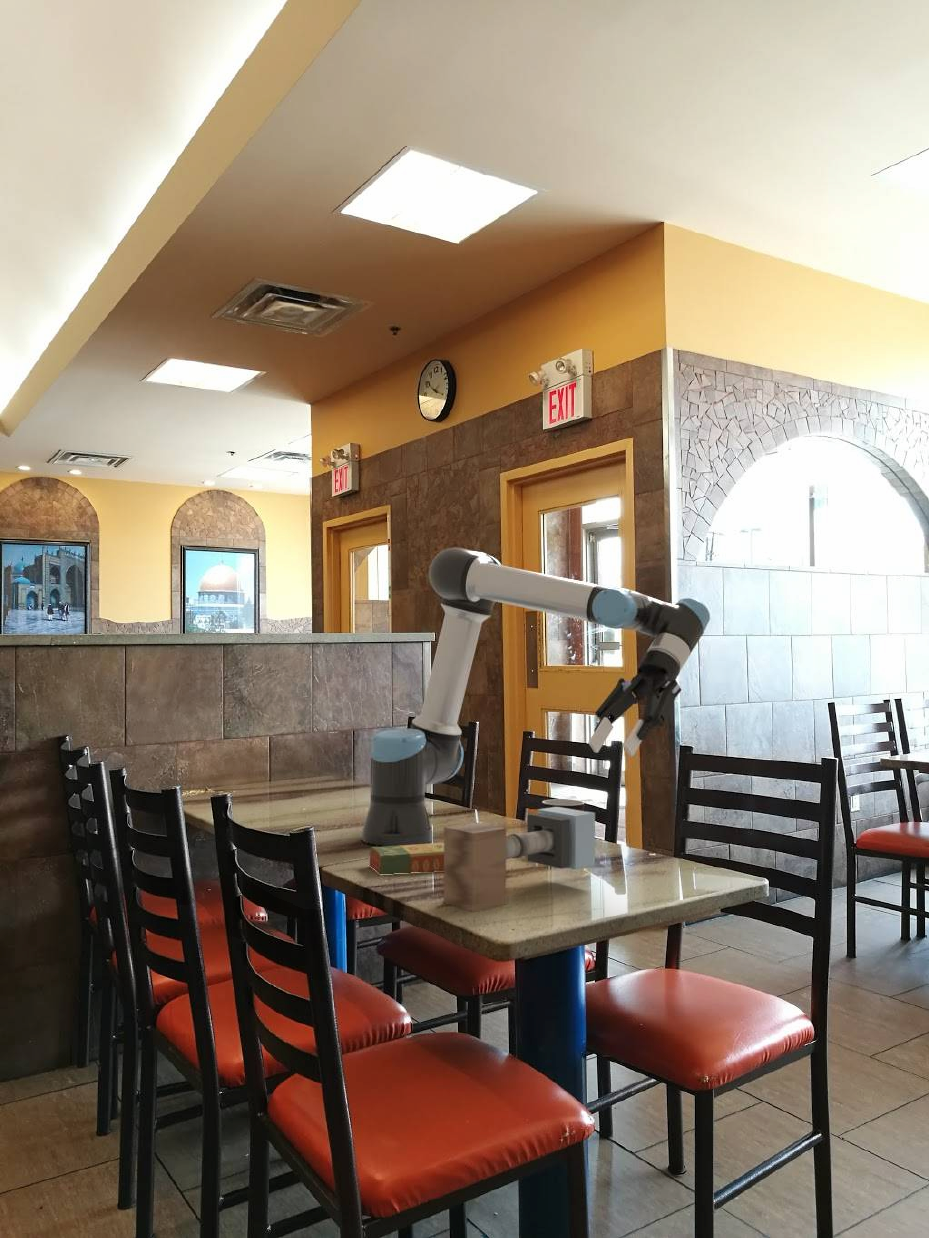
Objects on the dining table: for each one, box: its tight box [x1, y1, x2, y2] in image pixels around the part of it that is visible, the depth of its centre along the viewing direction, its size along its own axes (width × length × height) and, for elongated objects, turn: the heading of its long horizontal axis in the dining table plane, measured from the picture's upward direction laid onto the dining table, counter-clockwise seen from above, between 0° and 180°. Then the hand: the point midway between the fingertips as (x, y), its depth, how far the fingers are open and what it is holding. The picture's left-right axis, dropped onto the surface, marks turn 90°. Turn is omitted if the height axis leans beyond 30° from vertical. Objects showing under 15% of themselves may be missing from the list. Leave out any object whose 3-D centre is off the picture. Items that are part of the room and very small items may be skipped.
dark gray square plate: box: [526, 812, 570, 869], centre depth 163 cm, size 8×2×8 cm, turn 42°
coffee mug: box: [541, 798, 585, 811], centre depth 195 cm, size 12×9×10 cm
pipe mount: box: [443, 822, 554, 913], centre depth 159 cm, size 7×30×12 cm, turn 132°
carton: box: [369, 841, 444, 875], centre depth 177 cm, size 8×16×4 cm, turn 108°
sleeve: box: [537, 807, 596, 870], centre depth 166 cm, size 9×5×9 cm, turn 42°
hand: (610, 749), depth 175 cm, fingers open, 8 cm apart
